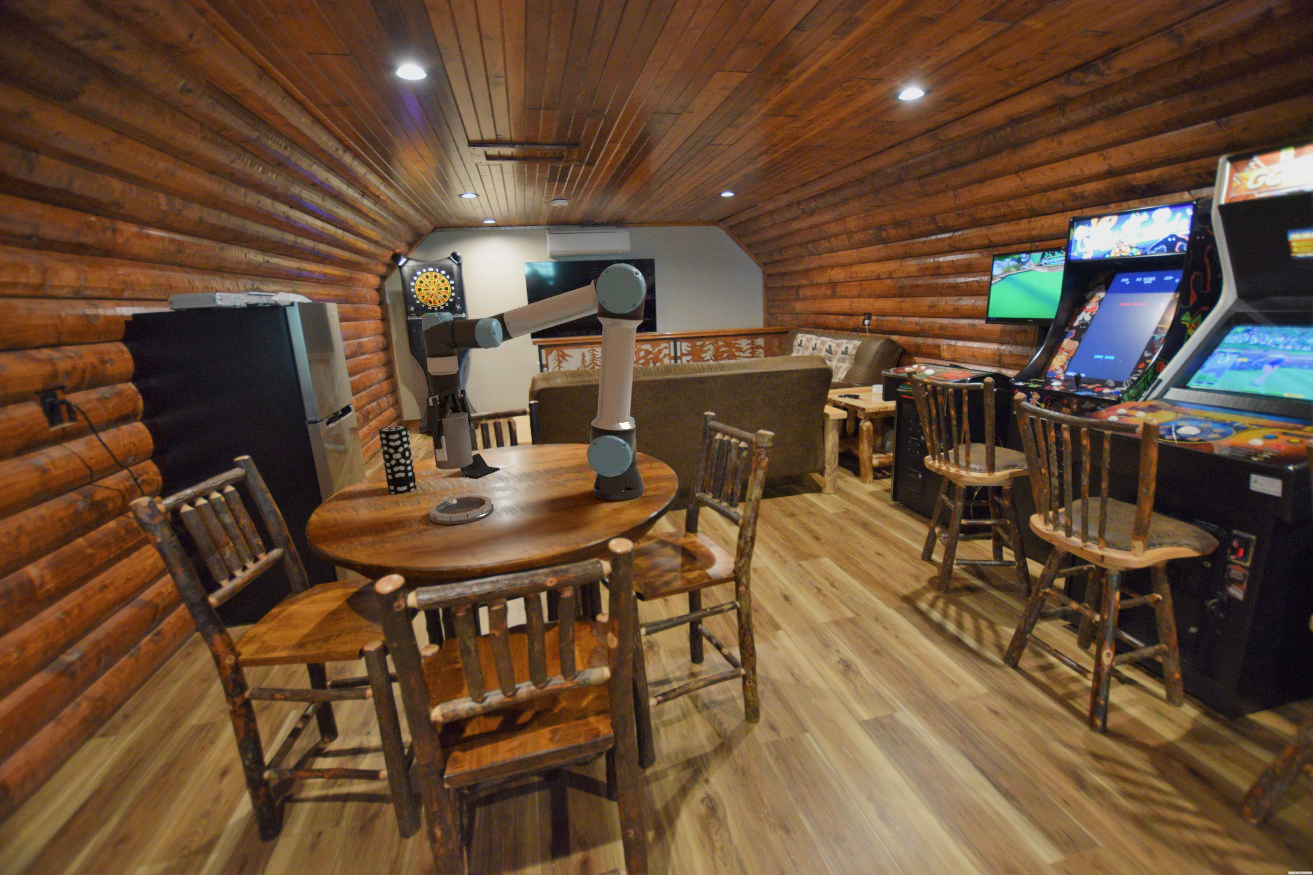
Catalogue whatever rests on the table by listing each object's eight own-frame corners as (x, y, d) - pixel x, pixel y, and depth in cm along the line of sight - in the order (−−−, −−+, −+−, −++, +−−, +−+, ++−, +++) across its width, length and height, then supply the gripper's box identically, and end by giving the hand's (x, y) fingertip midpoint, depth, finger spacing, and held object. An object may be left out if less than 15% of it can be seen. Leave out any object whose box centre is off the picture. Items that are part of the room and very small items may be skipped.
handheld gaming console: (483, 474, 191) (466, 450, 192) (469, 486, 193) (452, 462, 194) (502, 469, 202) (487, 446, 203) (489, 481, 204) (473, 458, 205)
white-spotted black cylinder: (382, 492, 182) (372, 430, 177) (402, 484, 189) (393, 424, 184) (402, 495, 179) (392, 432, 174) (422, 486, 186) (413, 426, 181)
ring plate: (505, 504, 166) (504, 496, 166) (471, 527, 150) (470, 518, 150) (453, 501, 171) (452, 493, 170) (416, 523, 155) (414, 514, 154)
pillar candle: (434, 462, 160) (427, 409, 156) (471, 457, 164) (464, 405, 160) (437, 472, 151) (430, 416, 147) (476, 466, 155) (469, 411, 151)
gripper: (456, 367, 163) (465, 444, 168) (402, 379, 142) (415, 466, 147) (479, 367, 161) (488, 445, 166) (428, 379, 140) (440, 467, 145)
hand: (454, 455), depth 157 cm, fingers closed on pillar candle, 10 cm apart
